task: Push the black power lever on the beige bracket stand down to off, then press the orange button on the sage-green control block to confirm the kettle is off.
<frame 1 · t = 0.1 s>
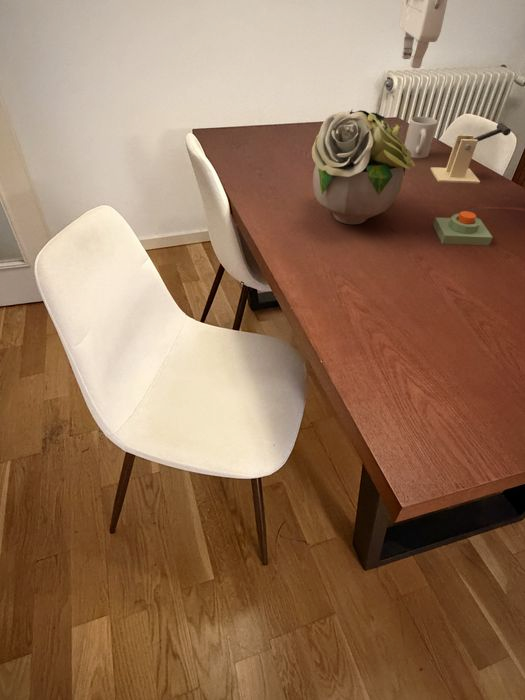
hand: (410, 62, 83), 33 cm above the table, tool pointing down, fingers open, 8 cm apart
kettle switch: (483, 137, 114), point 12 cm above the table, hinge at 25.0°
beige bracket stand: (453, 179, 122), on the table
off button: (466, 218, 95), point 4 cm above the table, slide at 0.1 cm
control block: (459, 235, 98), on the table
flower arrangement: (350, 218, 104), on the table
mug: (414, 158, 135), on the table
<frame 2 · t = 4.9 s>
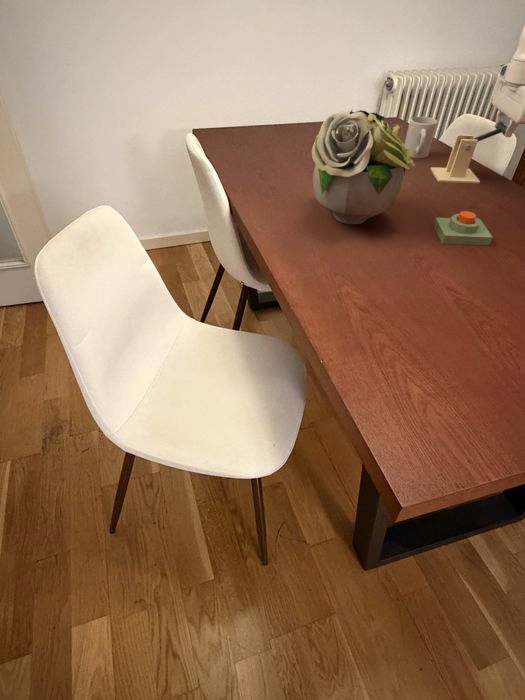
hand: (502, 132, 113), 13 cm above the table, tool pointing down, fingers closed on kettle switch, 5 cm apart
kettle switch: (483, 137, 114), point 12 cm above the table, hinge at 25.0°, touching gripper
everything else where it was.
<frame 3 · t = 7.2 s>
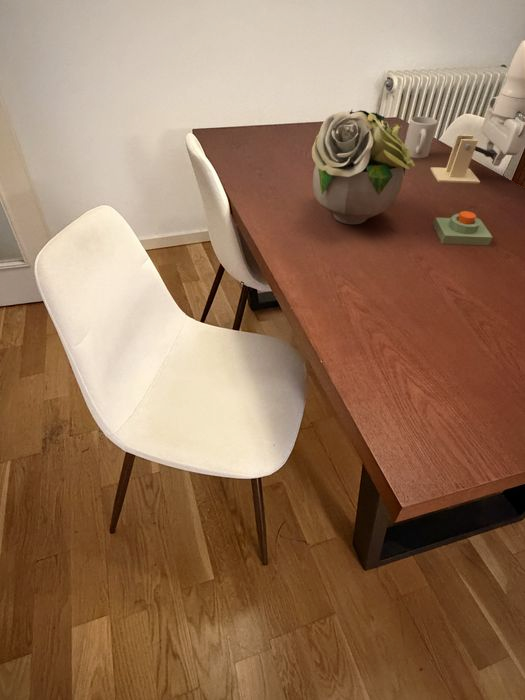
hand: (491, 160, 118), 6 cm above the table, tool pointing down, fingers closed on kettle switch, 5 cm apart
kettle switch: (479, 149, 116), point 9 cm above the table, hinge at -17.1°, touching gripper
everything else where it was.
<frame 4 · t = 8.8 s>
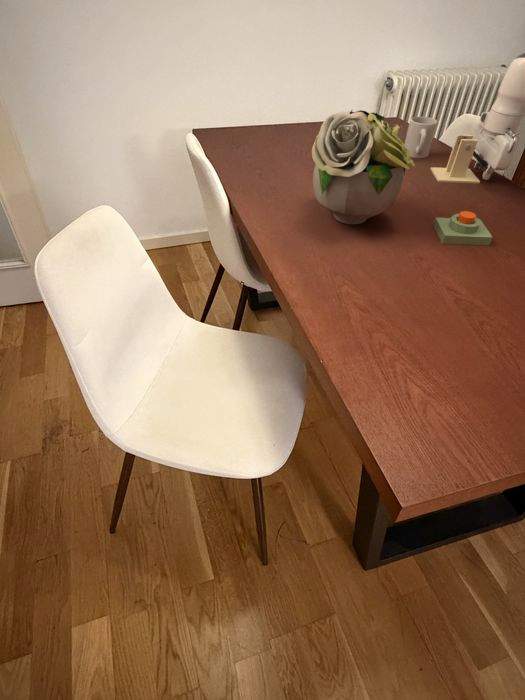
hand: (481, 173, 121), 2 cm above the table, tool pointing down, fingers closed on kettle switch, 5 cm apart
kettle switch: (475, 154, 117), point 7 cm above the table, hinge at -35.7°, touching gripper
everything else where it was.
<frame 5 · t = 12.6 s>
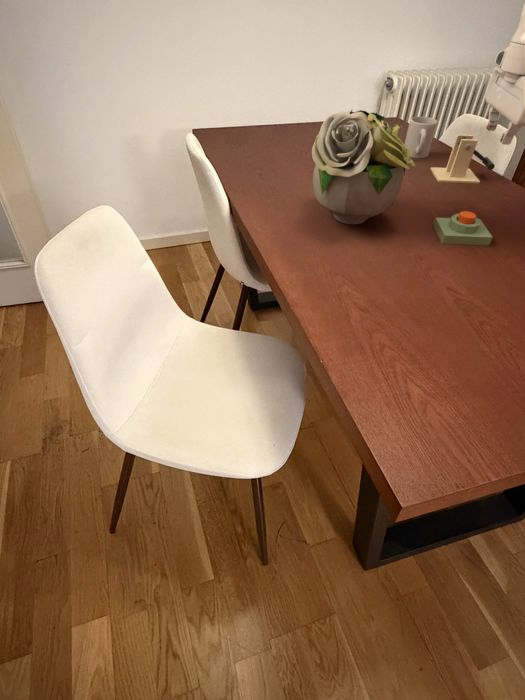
hand: (497, 136, 90), 20 cm above the table, tool pointing down, fingers open, 8 cm apart
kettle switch: (476, 153, 117), point 8 cm above the table, hinge at -30.6°
everything else where it was.
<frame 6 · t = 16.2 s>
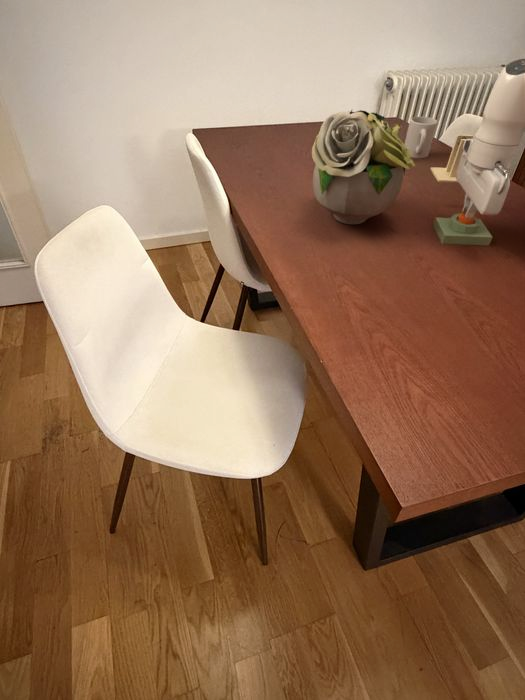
hand: (467, 215, 94), 5 cm above the table, tool pointing down, fingers closed, pressing on off button
off button: (466, 219, 95), point 4 cm above the table, slide at -0.2 cm, touching gripper
everything else where it was.
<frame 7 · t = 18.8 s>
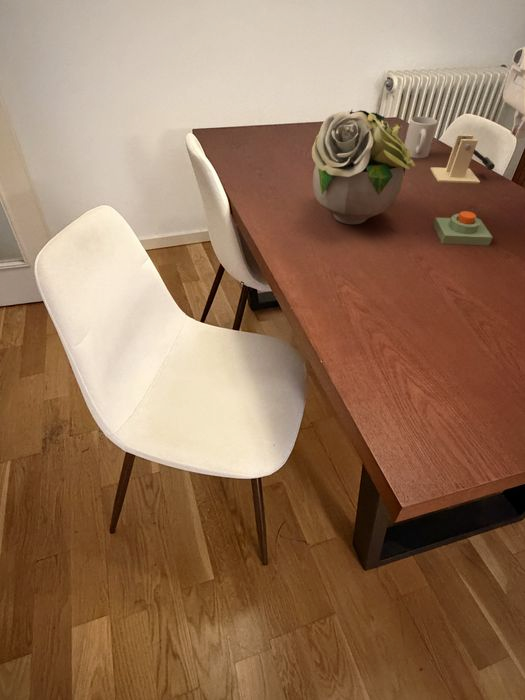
hand: (516, 136, 88), 21 cm above the table, tool pointing down, fingers closed
off button: (466, 218, 95), point 4 cm above the table, slide at 0.1 cm
everything else where it was.
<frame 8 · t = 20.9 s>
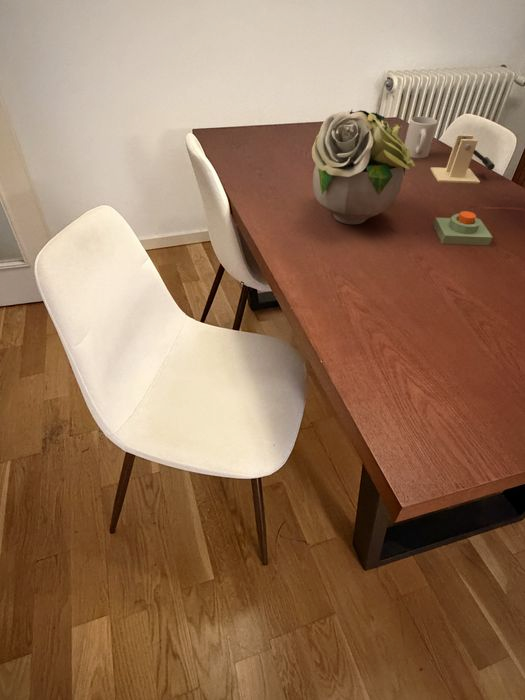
nothing on the table moved.
at the end: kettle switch at -31° (first picture: +25°); off button pushed in 1.1 cm at the most during the clip, back to where it started at the end; off button slide at 0.1 cm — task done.
